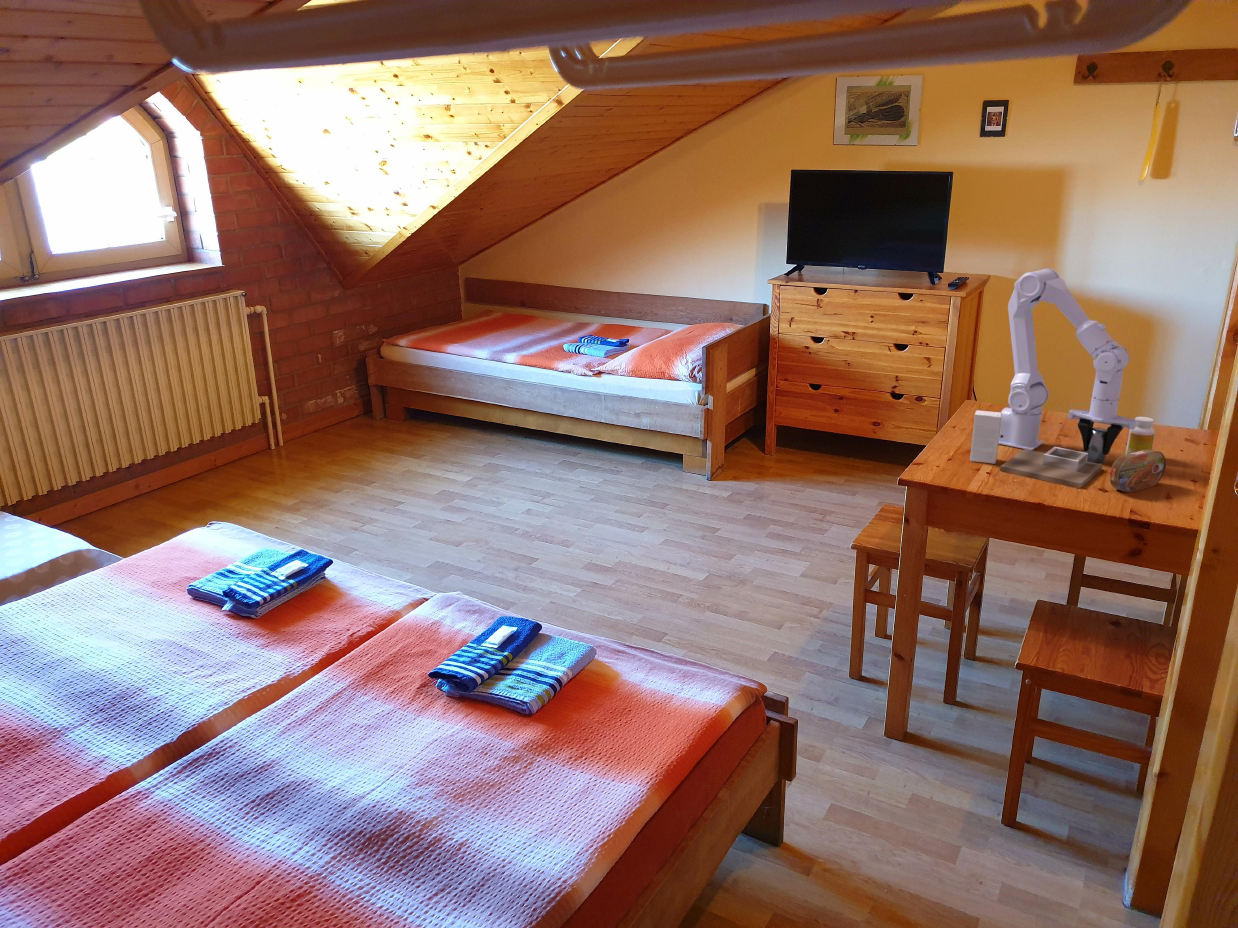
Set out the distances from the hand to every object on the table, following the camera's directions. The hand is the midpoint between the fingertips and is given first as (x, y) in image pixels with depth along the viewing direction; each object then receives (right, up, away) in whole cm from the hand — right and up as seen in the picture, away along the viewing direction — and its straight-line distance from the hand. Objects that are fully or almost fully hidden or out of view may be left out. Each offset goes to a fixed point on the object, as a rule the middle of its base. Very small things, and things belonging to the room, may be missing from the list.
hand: (1096, 451), depth 221 cm
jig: (-13, -4, -4) cm, 15 cm away
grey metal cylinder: (0, -2, +1) cm, 2 cm away
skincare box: (-26, -2, +3) cm, 27 cm away
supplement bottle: (+12, -1, +3) cm, 12 cm away
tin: (0, -8, -15) cm, 18 cm away
